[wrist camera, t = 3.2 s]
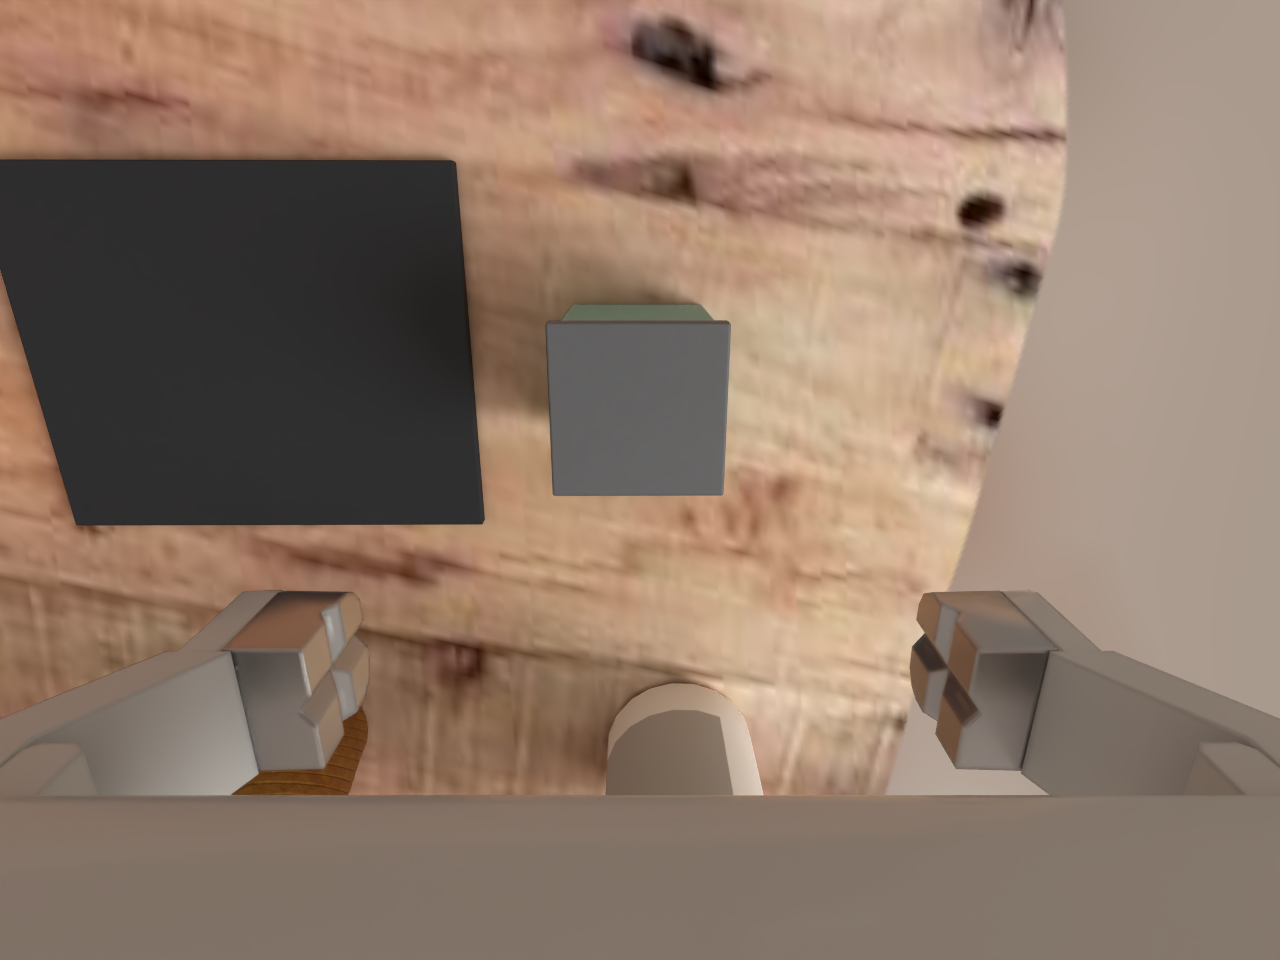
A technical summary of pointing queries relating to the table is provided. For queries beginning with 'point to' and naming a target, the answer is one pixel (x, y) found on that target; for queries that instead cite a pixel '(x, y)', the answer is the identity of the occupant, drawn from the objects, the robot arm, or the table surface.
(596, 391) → the green block grey end
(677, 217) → the table surface
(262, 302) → the mat
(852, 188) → the table surface
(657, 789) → the spray bottle
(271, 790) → the disposable coffee cup
